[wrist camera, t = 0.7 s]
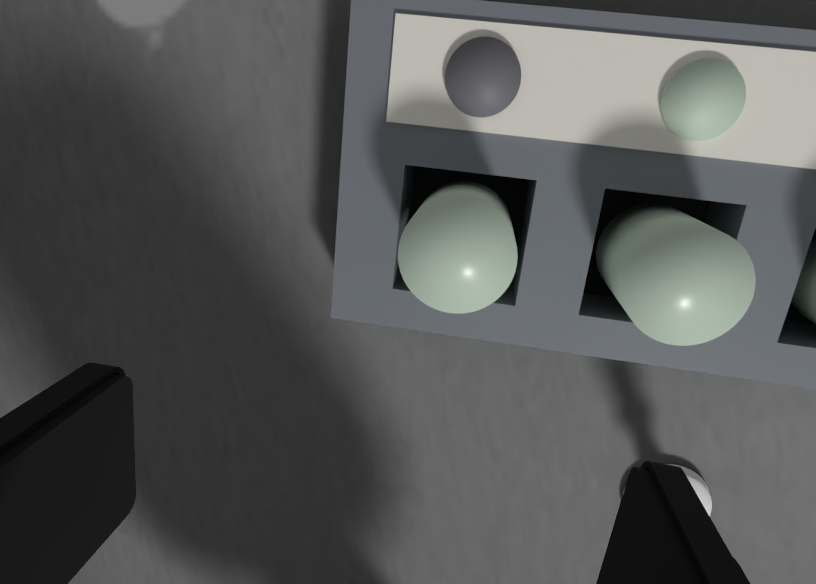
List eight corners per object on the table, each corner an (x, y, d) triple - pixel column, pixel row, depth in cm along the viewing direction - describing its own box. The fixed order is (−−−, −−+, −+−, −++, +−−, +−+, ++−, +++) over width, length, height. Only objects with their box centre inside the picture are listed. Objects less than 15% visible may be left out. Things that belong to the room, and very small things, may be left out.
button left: (519, 186, 27) (527, 205, 22) (503, 280, 29) (507, 321, 23) (421, 175, 28) (403, 190, 22) (411, 268, 29) (392, 305, 24)
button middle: (711, 210, 26) (772, 235, 21) (685, 305, 28) (735, 354, 22) (607, 197, 27) (639, 219, 21) (586, 292, 28) (611, 336, 23)
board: (1038, 67, 25) (1152, 57, 20) (908, 374, 29) (980, 417, 25) (370, 6, 28) (349, -14, 23) (349, 294, 32) (328, 321, 28)
